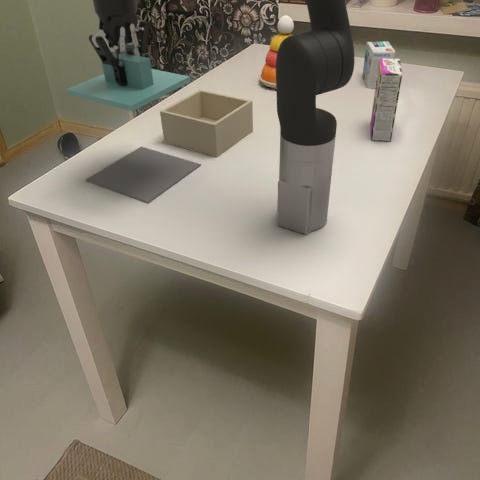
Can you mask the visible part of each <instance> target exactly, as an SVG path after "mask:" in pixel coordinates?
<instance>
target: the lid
mask: <svg viewBox="0 0 480 480" xmlns="http://www.w3.org/2000/svg"><path fill="white" fill-rule="evenodd" d="M123 58H124V65H123V66H125V72H126V77H127V83H128V84H127V85H126V86H122V85H118V83H116V81H115V77H114V72H113V67H112V66H111V65H107V64H103V63H102V61H101V60H100V61H101V66H102V67H101V68H102V71H103V74H100V75H97V76H95V77H93V78H90V79H88V80H86V81H83V82H81V83H78V84H75V85H73V86H71V87H69V88H67V89H65V90H66V95H67V96H72V97H76V98H80V99H84V100H87V101H91V102H94V103H95V102H96V103H99V104H102V105H103V104H104V105H107V106H110V107H114V108H119V109H122V110H126V111H130V112H134V111H136V110H138V109H140V108H142V107H144V106H146V105H148V104H150V103H152V102H154V101H156V100H158V99H160V98H162V97H163V96H165V95H168V94H170V93H171V92H173V91H176V90H178V89H180V88H181V87H182V86H184V85H186V84H188V83H191V76H189V75H184V74H178V73H174V72H169V71H164V70H159V69H155V68H152V64H151V59H150V57H145V56H142V55H140V56H136V55H130V54H126V52H125V53H124V54H123ZM116 59H117V54H116Z"/></svg>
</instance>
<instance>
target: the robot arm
mask: <svg viewBox="0 0 480 480" xmlns="http://www.w3.org/2000/svg"><path fill="white" fill-rule="evenodd" d="M92 2H93V8H94V12H95V14H96V15H97V17H98V19H99V24H98V29H99V30H98V31H97V32H96V33H95V34H90V35H89V36H88V41H89V42H90V44H91V46H92V48H93V49H94V51H95V53H96V54H97V56H98V58H99V59H100V61H102V62H101V64H102V63H103V64H107V65H111V66H112V67H113V72H114V77H115V81H116V83H118V85H122V86H126V85H127V84H128V83H127V77H126V72H125V66H123V65H124V58H123V54H124V53H125V54H130V55H136V56H142V55H145V54H146V52H147V43H148V36H149V28H150V23H149V21H147V20H141V19H139V17H138V16H137V14H136V12H137V11H138V2H137V0H92ZM305 3H306V7H307V12H308V18H309V23H310V31H305V32H300V33H295V34H291V36H289V37H287V38H285V39H284V40H283V41H282V42H281V44H280V46H279V48H278V52H277V57H276V89H275V90H276V113H277V119H278V121H279V126H280V127H279V129H280V130H279V133H280V138H279V163H278V165H279V169H278V170H279V173H278V182H277V202H276V203H277V204H276V206H277V207H276V209H277V211H276V213H277V214H276V225H277V226H279V227H282V228H285V229H288V230H292V231H294V232H297V233H300V234H303V235H308V234H309V233H310V232H313V231H316V230H319V229H321V228H322V227H324V226H325V225H326V223H327V221H328V215H329V214H328V213H329V203H330V193H331V183H332V175H333V173H332V172H333V164H334V155H335V146H336V136H337V135H336V134H337V128H338V127H337V125H338V124H337V119H336V117H335V115H334V114H333V113H331V112H329V111H328V110H325V109H323V108H319V107H317V100H316V99H317V96H319V95H321V94H325V93H329V92H333V91H335V90H338V89H341V88H343V87H345V86H346V85H348V83H349V82H350V81H351V79H352V76H353V75H354V74H353V73H354V69H355V50H354V48H355V47H354V41H353V35H352V30H351V25H350V20H349V15H348V9H347V4H346V0H305ZM116 54H117V59H116Z"/></svg>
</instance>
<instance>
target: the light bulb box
mask: <svg viewBox="0 0 480 480" xmlns="http://www.w3.org/2000/svg"><path fill="white" fill-rule="evenodd" d="M365 46H366V47H365V52H364V60H363V66H362V67H363V68H362V74H361V77H362V79H363V81H364V84H365V86H366V88H367V89H375V87H376V79H377V72H378V65H379V59H380V58H386V59H387V58H392V59H395V57H396V51H395V49H394V48H393V46H392V45H391V43H390V42H389V41H387V40H386V41H366V44H365Z"/></svg>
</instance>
